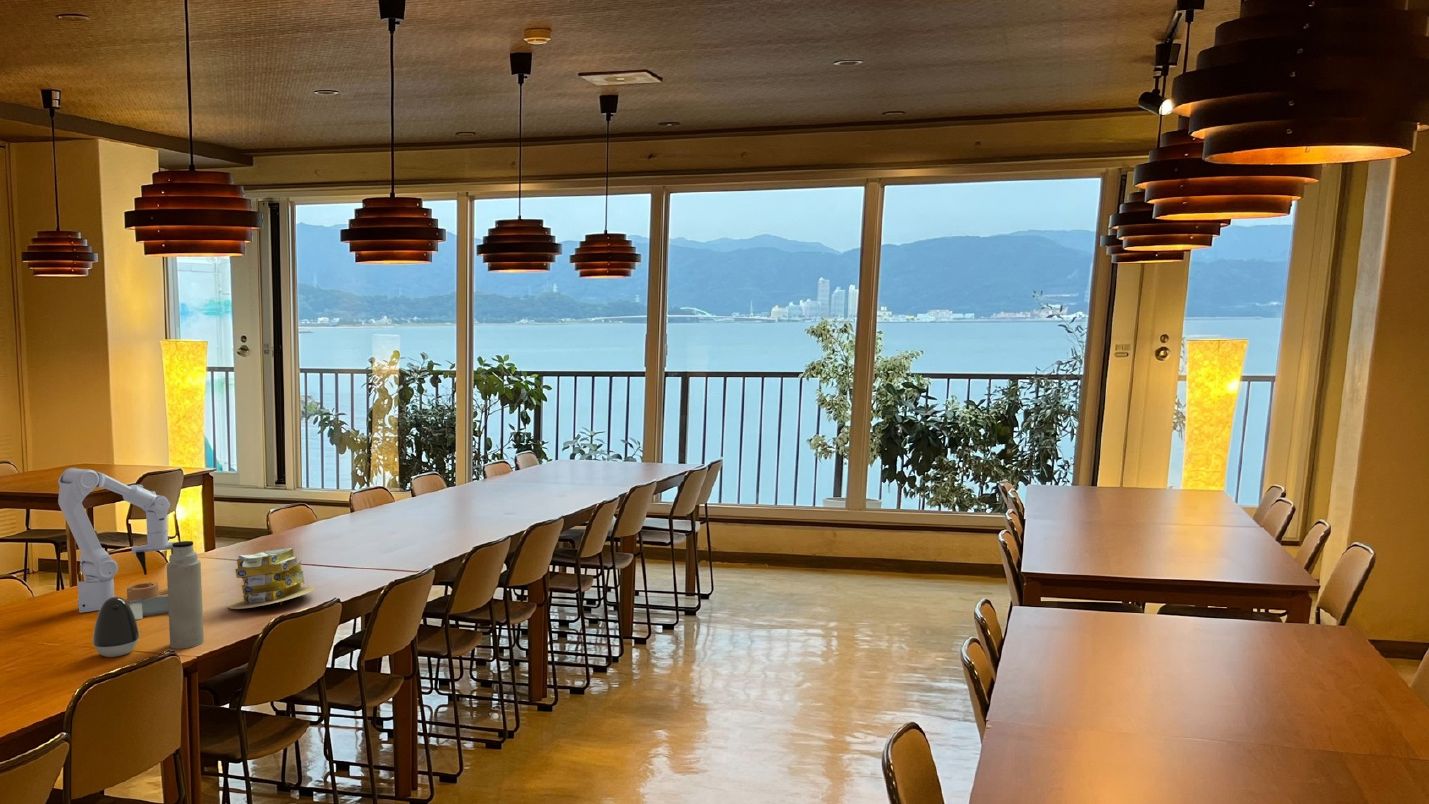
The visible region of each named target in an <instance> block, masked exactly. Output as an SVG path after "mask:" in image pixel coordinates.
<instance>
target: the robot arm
mask: <svg viewBox="0 0 1429 804" xmlns="http://www.w3.org/2000/svg"><path fill="white" fill-rule="evenodd" d="M57 483H58V485H59V488H58V489H59V491H58V499H57V503H58V506H59V508H60V510H61V512H62V514H63V517H64V519H65V521H66V523H67V525H68V527H69V530H70V532H71V533H72V536H73V538H74V541H75V543H76V545H77V546H78V550H79V551H80V556H78V557H79V558H78V559H79V560H78V561H79V563H80V567H79V568H80V573H81V574H82V575H83V576H85V577H84V578H85V580H83V581H78V582H77V592H78V593H77V596H78V598H77V599H78V600H77V607H78V613H79V614H80V613H81V614H82V613H88V612H97V611H100V608H101V607H102V605H103V603H104V602H105V601H106V600H107V599H109V598H112V597H115V581H114V577H115V576H116V574H117V573H118V569H119V566H118V563H117V561H115V559H113V558H112V557H111V555H110V553H108V552H107V551H106V550H105V549H104V548H103V547H102V545H101V542H100V541H99V538H98V536H97V533H96V532H95V529H94V527H93V524H92V522H91V521H90V518H89V516H88V514H87V511H86V509H85V507H84V505H83V502H84V500H85V498H86V497H87V496H88V495H89V494H90V493H91V492H92V491H93V490H94V489H96V488H102V489H105V490H108V491H111V492H113V493H116V494H119V495H121V496H122V499H123V501H125V502H127V503H129V504H131V505H134V506H136V507H139V508H141V509H142V511H144V512H145V516H146V517H145V518H146V538H147V539H146V541H147V544H144V545H139V546H132V547H131V554H132V555H135V557H136V558H137V560H138V562H139V563H140V566H141V568H142V570H143V571H142V572H143V575H144V576H147V574H148V571H147V567H146V563H147V562H146V553H149V552H150V553H151V552H158V551H159V552H160V551H168V550H170V552H171V553H170V555H171V554H173V547H172V544H173V543H176V542H177V541H174V542H173V541H172V542H169V536H168V517H167V516H168V511H169V509H170V507H171V502H169V499H168V498H167V497H166V496H164V495H159V494H156V493H157V492H156V491H155V490H151V491H150V490H148V489H146V488H144V485H142V484H138V483H137V484H131V485H127V484H125V483H123V482H120V480H117V479H115V478H113V477H111V476H109V475H107V474H105V473H103V472H99V471H96V470H93V469H83V468H78V467H77V468H76V467H70V468H67V469H65V470H64V471H63V473H62V474H61V475H60V476H59V478H58V480H57Z"/></svg>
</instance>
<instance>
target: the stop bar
mask: <svg viewBox="0 0 1429 804" xmlns="http://www.w3.org/2000/svg"><path fill="white" fill-rule="evenodd" d="M130 607H131V609H132V612H133V614H134V617H135V619H136V621H137V620H143V617H148V616H154V615H155V616H156V615H161V614H163V615H164V614H169V608H168V596H161V597H153V598H146V599H138V600H130Z"/></svg>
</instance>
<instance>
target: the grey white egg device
mask: <svg viewBox="0 0 1429 804" xmlns="http://www.w3.org/2000/svg"><path fill="white" fill-rule="evenodd" d="M139 638H140V631H139V627H138V623H137V620H136V619H135V617H134V614H133V612H132V609H131V607H130V606H129V604H128V603H127V599H126V600H125V598H123V597H121V596H114V597H112V598H109V599H107V600H106V601H105V602H104V603H103V605H102V607H101V608H100V610H98V613H97V616H96V619H95V624H94V628H93V635H92V644H93V646H94V648H95V650H96V652H97V653H98V654H99V655H101V656H102V657H107V658H114V657H115V658H116V657H121V656H125V655H127V654H129V653H130V652H132V651H133V650H134V649H135V647H136V646H137V644H138V640H139Z"/></svg>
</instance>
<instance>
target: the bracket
mask: <svg viewBox="0 0 1429 804" xmlns="http://www.w3.org/2000/svg"><path fill="white" fill-rule="evenodd" d="M161 596H168V588H164V589H160V590H159V583H158V582H153V583H152V582H150V581H149V582H141V583H135V584H131V585H129V586H126V598H127V599H126V602H127V603H128V604H129V606H130V600H138V599H146V598H153V597H161Z"/></svg>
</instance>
